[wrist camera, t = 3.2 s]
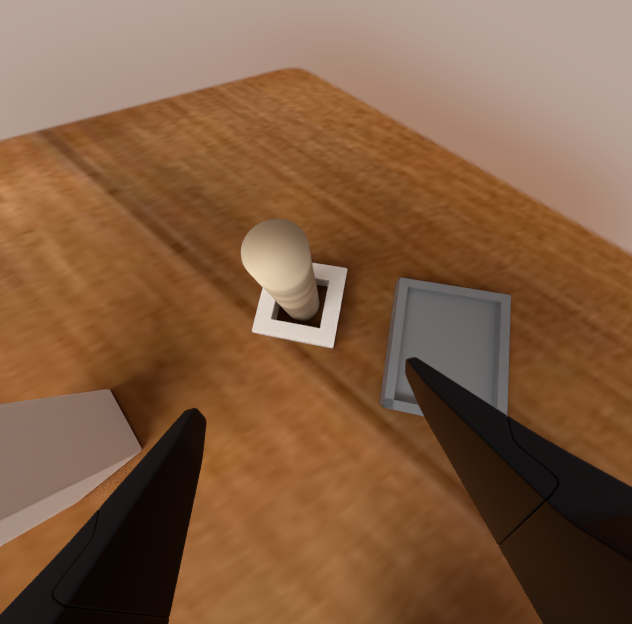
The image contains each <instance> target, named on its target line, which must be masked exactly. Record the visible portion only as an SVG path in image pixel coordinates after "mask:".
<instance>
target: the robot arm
mask: <svg viewBox="0 0 632 624" xmlns="http://www.w3.org/2000/svg"><path fill="white" fill-rule="evenodd" d="M405 375H406V378H407V380H408V382H409V384H410V387H411V389H412V391H413V394H414V396H415V398H416V400H417V403H418V405H419V407H420V409H421V411H422V413H423V415H424V417H425V419H426V420H427V422H428V424H429V426H430V427H431V429H432V431H433V433H434V434H435V436H436V438H437V440H438V441H439V443H440V445H441V447H442V448H443V450H444V452H445V453H446V455H447V457H448V459H449V460H450V462H451V464H452V466H453V467H454V469H455V471H456V473H457V474H458V476H459V478H460V480H461V481H462V483H463V485H464V487H465V488H466V490H467V492H468V493H469V495H470V497H471V499H472V500H473V502H474V504H475V506H476V507H477V509H478V511H479V513H480V514H481V516H482V518H483V520H484V521H485V523H486V525H487V526H488V528H489V530H490V532H491V533H492V535H493V537H494V539H495V540H496V542H497V544H498V545H499V548H500V549H501V551H502V553H503V555H504V556H505V558H506V560H507V562H508V563H509V565H510V567H511V568H512V570H513V572H514V574H515V575H516V577H517V579H518V581H519V582H520V584H521V586H522V588H523V589H524V591H525V593H526V595H527V596H528V598H529V600H530V602H531V603H532V605H533V607H534V608H535V610H536V612H537V614H538V615H539V617H540V619H541V621H542V622H543V624H632V487H631V486H629V485H627V484H625V483H623V482H622V481H620V480H618V479H616V478H614V477H613V476H611V475H609V474H607V473H605V472H603V471H602V470H600V469H598V468H596V467H594V466H593V465H591V464H589V463H587V462H585V461H584V460H582V459H580V458H578V457H576V456H575V455H573V454H571V453H569V452H567V451H566V450H564V449H562V448H560V447H559V446H557V445H555V444H553V443H552V442H550V441H548V440H546V439H545V438H543V437H541V436H540V435H538V434H536V433H535V432H533V431H531V430H530V429H528V428H527V427H525V426H523V425H522V424H520V423H519V422H517V421H515V420H514V419H512V418H511V417H509V416H508V417H507V415H506V414H504V413H503V412H501V411H500V410H498V409H497V408H495V407H493V406H492V405H490V404H489V403H487V402H486V401H484V400H483V399H481V398H479V397H478V396H476V395H475V394H473V393H472V392H470V391H468V390H467V389H465V388H464V387H462V386H461V385H459V384H458V383H456V382H454V381H453V380H451V379H450V378H448V377H447V376H445V375H444V374H442V373H440V372H439V371H437V370H436V369H434V368H433V367H431V366H429V365H428V364H426V363H425V362H423V361H422V360H420V359H419V358H417V357H411V358H407V359H406V360H405ZM205 432H206V419H205V417H204V416H203V415H202V413H201V412H200V411H199V410H198V409H197V408H192V409H188V410H186V411H184V412H183V413H182V415H181V416H180V417H179V418H178V419H177V420H176V421H175V423H174V424H173V425H172V426H171V427H170V428H169V429H168V431H167V432H166V433H165V434H164V435H163V436H162V437H161V438H160V440H159V441H158V442H157V443H156V444H155V445H154V446H153V448H152V449H151V450H150V451H149V452H148V453H147V454H146V456H145V457H144V458H143V459H142V460H141V461H140V462H139V464H138V465H137V466H136V467H135V468H134V469H133V470H132V472H131V473H130V474H129V475H128V476H127V477H126V478H125V479H124V481H123V482H122V483H121V484H120V485H119V486H118V487H117V489H116V490H115V491H114V492H113V493H112V494H111V495H110V497H109V498H108V499H107V500H106V501H105V502H104V503H103V505H102V506H101V507H100V509H99V510H97V511H96V512H95V514H94V515H93V516H92V517H91V518H90V519H89V520H88V522H87V523H86V524H85V525H84V526H83V527H82V528H81V529H80V530H79V532H78V533H77V534H76V535H75V536H74V537H73V538H72V539H71V540H70V542H69V543H68V544H67V545H66V546H65V547H64V548H63V549H62V550H61V551H60V552H59V553H58V554H57V555H56V557H55V558H54V559H53V560H52V561H51V562H50V563H49V564H48V565H47V566H46V567H45V568H44V569H43V570H42V571H41V572H40V573H39V575H38V576H37V577H36V578H35V579H34V580H33V581H32V582H31V583H30V584H29V585H28V586H27V587H26V588H25V589H24V590H23V591H22V592H21V593H20V594H19V595H18V596H17V597H16V599H15V600H14V601H13V602H12V603H11V604H10V605H9V606H8V607H7V608H6V609H5V610H4V611H3V612H2V613H1V614H0V624H168V623H169V616H170V612H171V607H172V603H173V598H174V593H175V588H176V584H177V579H178V574H179V569H180V565H181V560H182V555H183V550H184V546H185V541H186V536H187V531H188V527H189V522H190V517H191V512H192V508H193V503H194V498H195V493H196V489H197V484H198V479H199V474H200V470H201V464H202V458H203V450H204V441H205Z"/></svg>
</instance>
